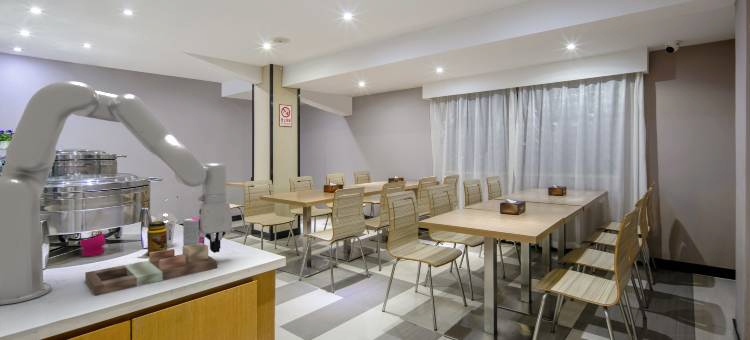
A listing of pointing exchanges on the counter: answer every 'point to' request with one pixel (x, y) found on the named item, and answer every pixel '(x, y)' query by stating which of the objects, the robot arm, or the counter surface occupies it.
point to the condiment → (156, 237)
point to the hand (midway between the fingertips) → (215, 251)
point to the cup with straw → (168, 222)
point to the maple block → (195, 252)
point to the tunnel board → (145, 271)
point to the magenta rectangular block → (93, 245)
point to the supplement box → (191, 232)
